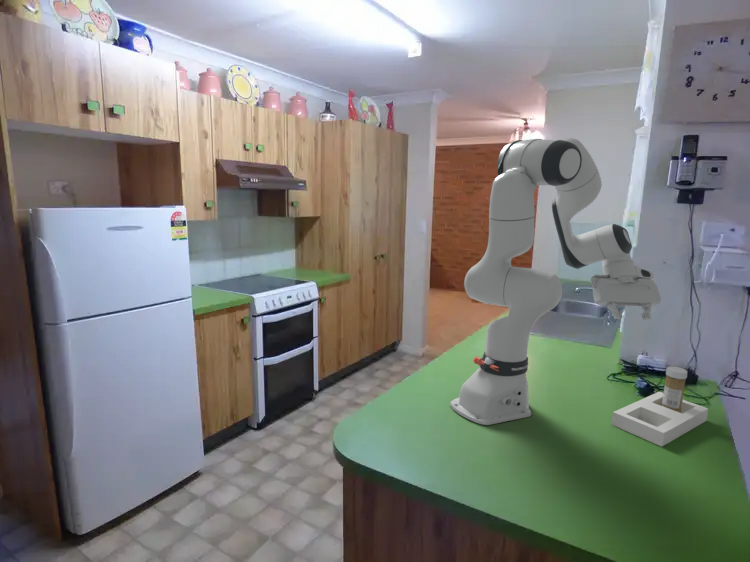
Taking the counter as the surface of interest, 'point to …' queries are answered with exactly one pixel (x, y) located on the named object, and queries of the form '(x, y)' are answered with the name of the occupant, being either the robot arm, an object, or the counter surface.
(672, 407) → the sprinkles bottle
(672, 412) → the bottle stand
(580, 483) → the counter surface
